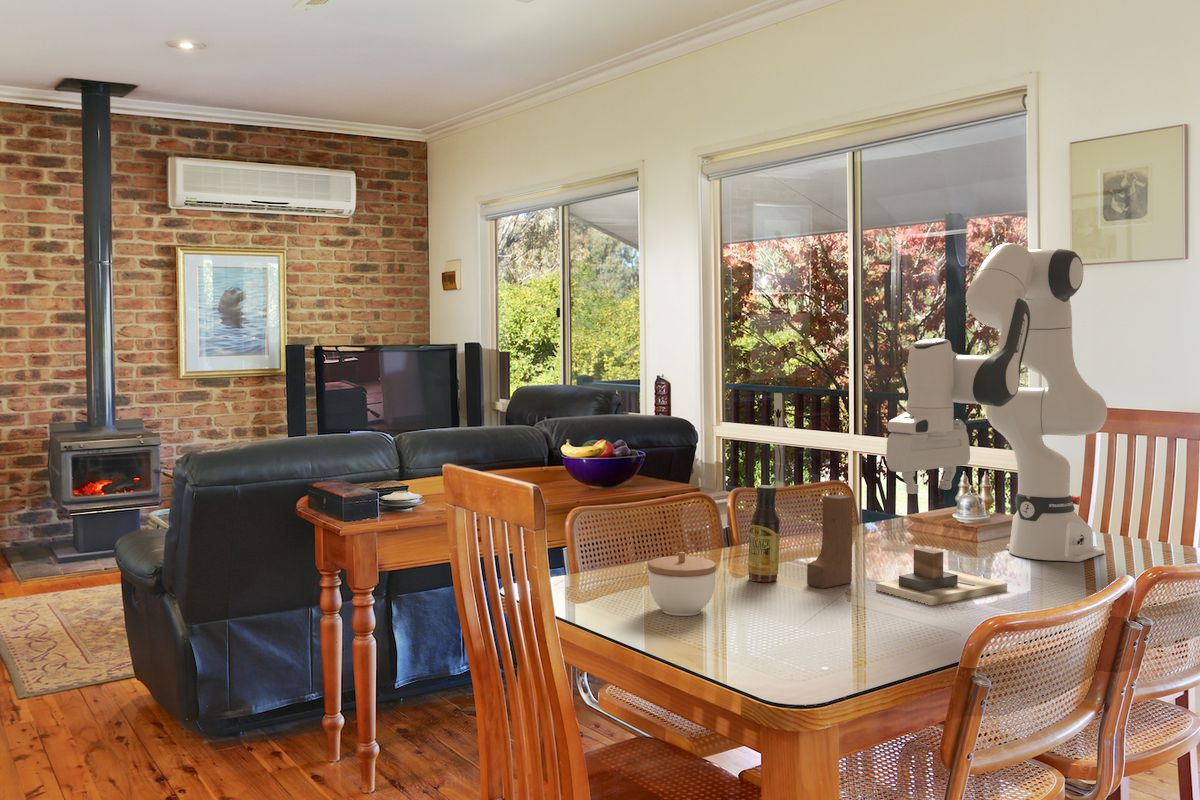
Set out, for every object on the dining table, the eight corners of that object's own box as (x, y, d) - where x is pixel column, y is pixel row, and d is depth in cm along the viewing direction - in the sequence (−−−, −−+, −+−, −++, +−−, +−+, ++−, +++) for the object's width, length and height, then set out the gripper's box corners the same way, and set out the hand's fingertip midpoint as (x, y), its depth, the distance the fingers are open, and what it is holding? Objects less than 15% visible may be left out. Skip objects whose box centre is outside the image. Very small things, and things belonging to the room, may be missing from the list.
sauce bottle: (742, 580, 219) (742, 486, 218) (759, 575, 224) (759, 483, 222) (768, 585, 215) (769, 489, 213) (785, 580, 219) (786, 485, 218)
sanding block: (933, 578, 212) (933, 544, 212) (957, 584, 207) (957, 549, 207) (898, 585, 207) (898, 550, 207) (922, 592, 202) (922, 556, 201)
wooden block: (823, 589, 211) (823, 500, 210) (806, 585, 214) (806, 498, 213) (852, 583, 216) (853, 496, 215) (835, 579, 220) (836, 494, 219)
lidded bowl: (647, 602, 201) (647, 545, 200) (712, 602, 201) (713, 545, 200) (648, 620, 188) (648, 559, 188) (718, 620, 188) (718, 559, 187)
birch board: (950, 577, 221) (950, 569, 221) (1007, 590, 209) (1007, 582, 209) (875, 590, 210) (876, 582, 209) (931, 605, 198) (931, 597, 198)
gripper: (952, 417, 213) (952, 484, 214) (881, 423, 203) (880, 493, 204) (978, 419, 208) (977, 488, 209) (906, 425, 197) (905, 498, 198)
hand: (929, 491), depth 206 cm, fingers open, 8 cm apart
